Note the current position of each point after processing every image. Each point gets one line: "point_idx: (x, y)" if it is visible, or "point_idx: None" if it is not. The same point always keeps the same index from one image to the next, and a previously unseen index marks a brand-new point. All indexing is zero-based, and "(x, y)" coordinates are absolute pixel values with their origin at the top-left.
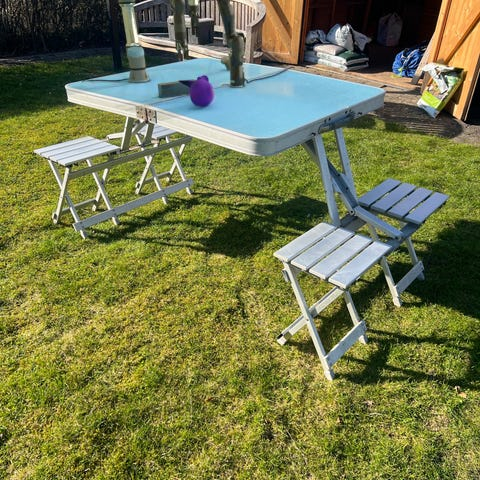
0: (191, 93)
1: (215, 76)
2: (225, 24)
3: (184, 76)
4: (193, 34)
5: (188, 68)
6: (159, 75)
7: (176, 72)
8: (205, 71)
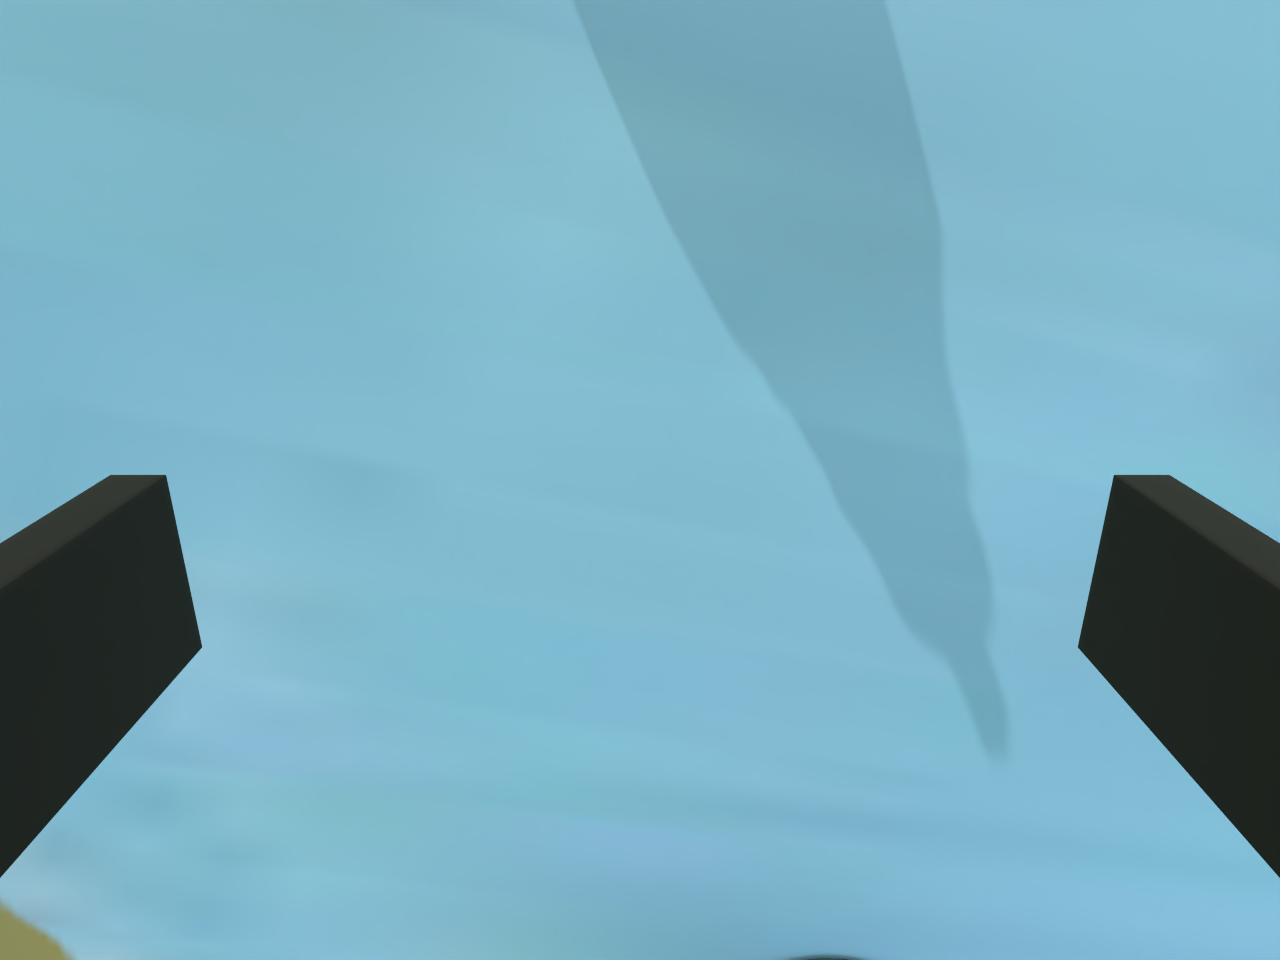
0: None
1: (1067, 23)
2: None
3: (783, 537)
4: (166, 593)
5: (34, 318)
6: (546, 820)
7: (387, 581)
8: (461, 74)
